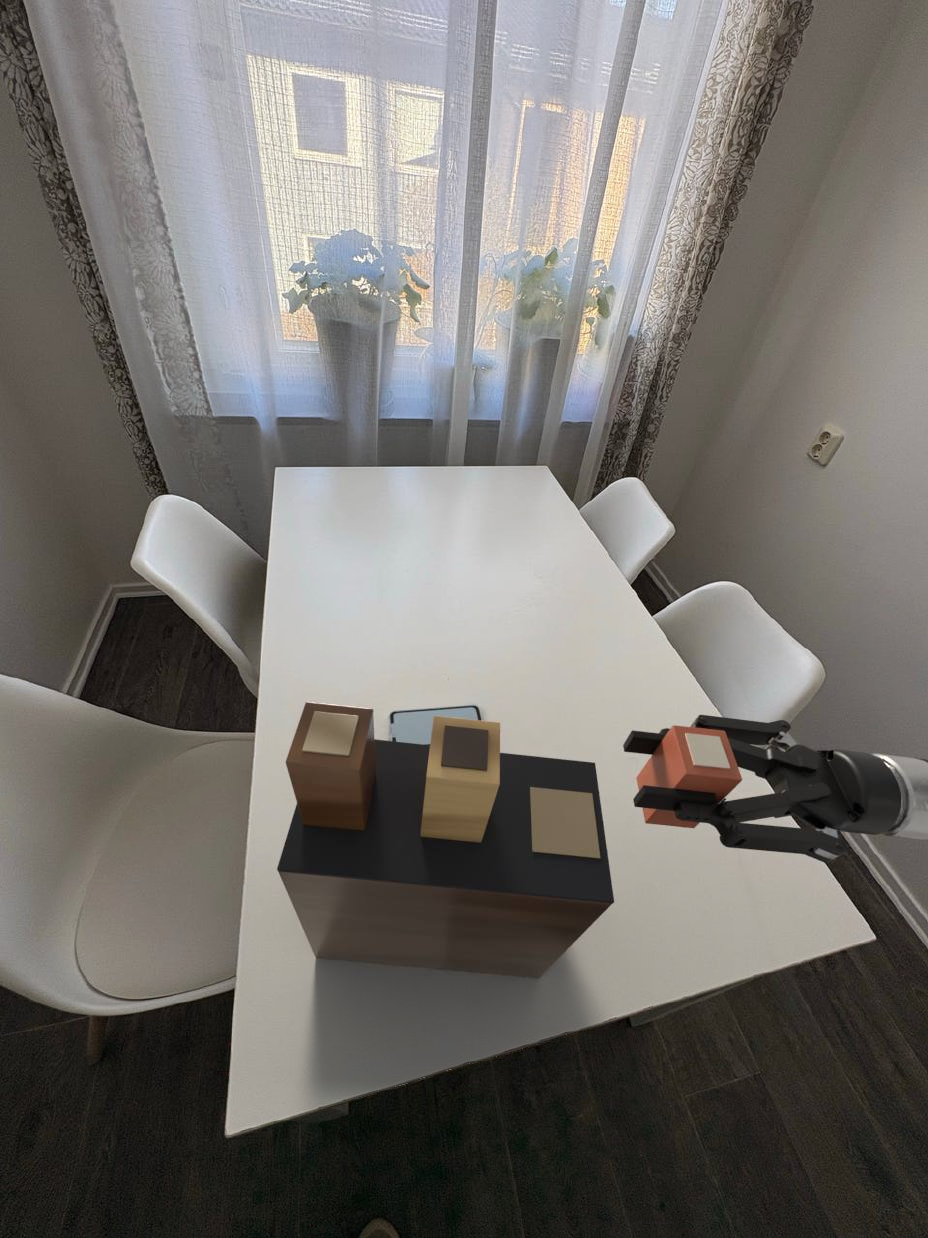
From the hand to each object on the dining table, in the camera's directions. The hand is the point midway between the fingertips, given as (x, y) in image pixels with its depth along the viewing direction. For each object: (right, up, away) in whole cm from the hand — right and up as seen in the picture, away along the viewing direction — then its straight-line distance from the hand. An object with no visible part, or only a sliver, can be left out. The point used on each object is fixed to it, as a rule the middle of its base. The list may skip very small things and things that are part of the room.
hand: (633, 767), depth 48 cm
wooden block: (-26, -1, -5) cm, 27 cm away
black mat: (-17, -3, -5) cm, 18 cm away
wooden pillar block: (-17, -2, -5) cm, 18 cm away
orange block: (+5, -5, +4) cm, 8 cm away
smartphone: (-20, -4, +33) cm, 39 cm away
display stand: (-20, -22, +15) cm, 33 cm away
